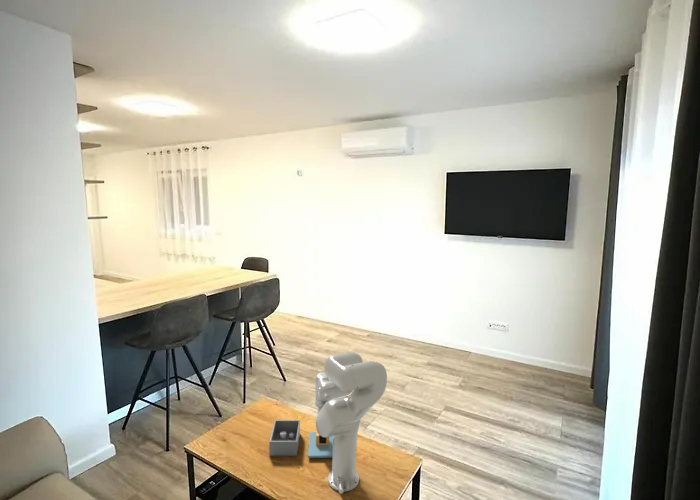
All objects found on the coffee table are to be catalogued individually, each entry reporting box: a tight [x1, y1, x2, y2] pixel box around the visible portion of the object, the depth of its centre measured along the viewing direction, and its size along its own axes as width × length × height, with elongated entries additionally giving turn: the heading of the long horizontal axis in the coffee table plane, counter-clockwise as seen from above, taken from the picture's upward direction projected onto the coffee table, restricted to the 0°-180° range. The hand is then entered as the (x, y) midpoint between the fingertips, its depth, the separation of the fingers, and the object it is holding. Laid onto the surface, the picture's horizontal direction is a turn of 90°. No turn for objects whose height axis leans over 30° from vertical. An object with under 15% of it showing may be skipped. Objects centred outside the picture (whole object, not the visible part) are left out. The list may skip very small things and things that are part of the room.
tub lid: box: [307, 431, 334, 459], centre depth 172 cm, size 16×12×6 cm
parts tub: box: [268, 419, 301, 457], centre depth 173 cm, size 16×12×7 cm
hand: (322, 436), depth 172 cm, fingers open, 9 cm apart
